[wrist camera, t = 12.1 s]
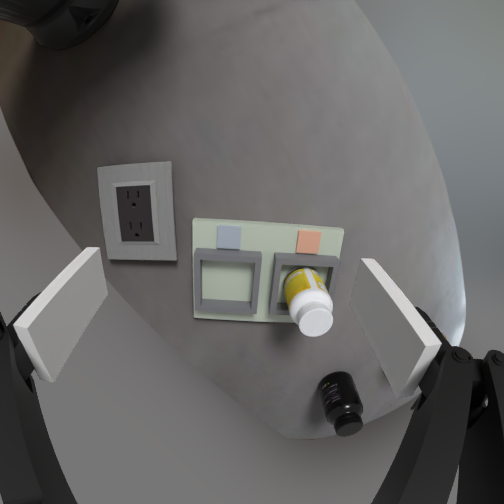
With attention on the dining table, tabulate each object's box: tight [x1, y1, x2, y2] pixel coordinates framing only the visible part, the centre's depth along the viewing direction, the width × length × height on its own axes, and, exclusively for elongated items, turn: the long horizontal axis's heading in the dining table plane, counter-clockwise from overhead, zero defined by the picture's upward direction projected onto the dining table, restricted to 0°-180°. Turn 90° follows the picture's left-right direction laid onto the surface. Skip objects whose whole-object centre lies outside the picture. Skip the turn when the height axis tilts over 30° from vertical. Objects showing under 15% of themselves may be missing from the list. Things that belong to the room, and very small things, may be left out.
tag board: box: [193, 218, 344, 323], centre depth 40 cm, size 15×20×3 cm
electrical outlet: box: [97, 161, 177, 260], centre depth 36 cm, size 13×10×2 cm
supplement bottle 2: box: [319, 372, 363, 437], centre depth 45 cm, size 7×7×12 cm
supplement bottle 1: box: [283, 266, 333, 337], centre depth 36 cm, size 5×5×10 cm
